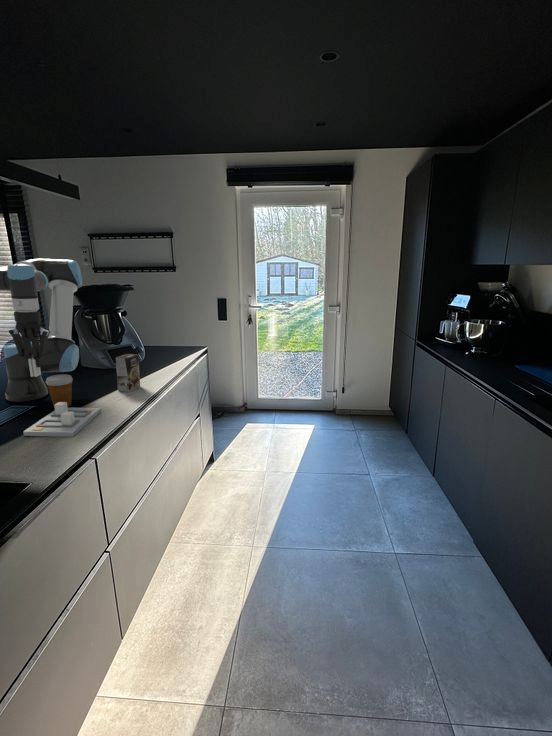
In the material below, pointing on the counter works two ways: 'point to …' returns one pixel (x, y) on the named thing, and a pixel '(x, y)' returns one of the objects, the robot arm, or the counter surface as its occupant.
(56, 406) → the tab
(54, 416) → the switch plate
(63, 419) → the tab
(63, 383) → the disposable coffee cup
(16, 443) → the counter surface
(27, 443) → the counter surface
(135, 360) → the coffee box
